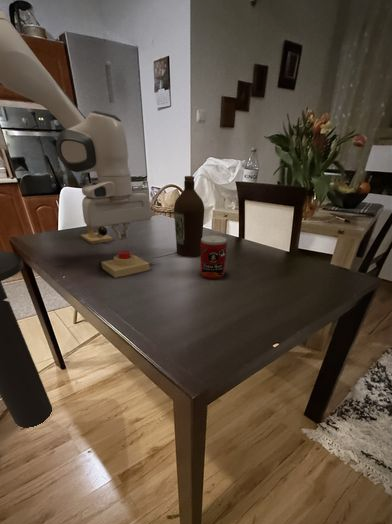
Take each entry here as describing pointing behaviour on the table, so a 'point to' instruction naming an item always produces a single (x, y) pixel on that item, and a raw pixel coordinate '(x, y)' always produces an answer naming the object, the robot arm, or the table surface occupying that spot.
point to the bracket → (95, 236)
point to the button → (124, 254)
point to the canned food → (213, 256)
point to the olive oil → (189, 220)
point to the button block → (125, 266)
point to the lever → (102, 231)
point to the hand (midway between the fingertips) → (122, 238)
